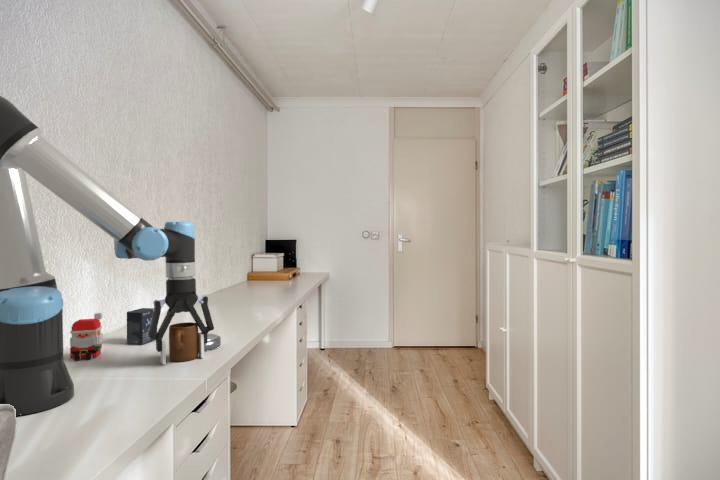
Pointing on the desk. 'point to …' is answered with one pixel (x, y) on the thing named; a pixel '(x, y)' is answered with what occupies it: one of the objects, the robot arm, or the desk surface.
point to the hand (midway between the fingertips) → (182, 359)
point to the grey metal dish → (212, 342)
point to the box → (139, 326)
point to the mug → (183, 342)
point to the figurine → (86, 338)
